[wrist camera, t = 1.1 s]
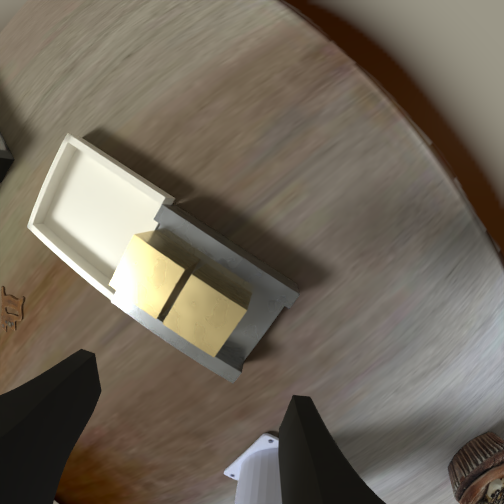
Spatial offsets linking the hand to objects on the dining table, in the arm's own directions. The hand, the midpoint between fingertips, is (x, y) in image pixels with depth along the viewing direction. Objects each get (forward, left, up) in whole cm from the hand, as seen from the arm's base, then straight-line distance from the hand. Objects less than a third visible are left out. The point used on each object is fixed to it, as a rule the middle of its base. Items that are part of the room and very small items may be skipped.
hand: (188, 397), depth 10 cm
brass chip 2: (+1, +1, -13) cm, 13 cm away
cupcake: (-37, +3, -14) cm, 40 cm away
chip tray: (+13, +1, -14) cm, 19 cm away
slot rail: (+2, +1, -14) cm, 14 cm away
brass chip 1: (+6, +1, -13) cm, 14 cm away
